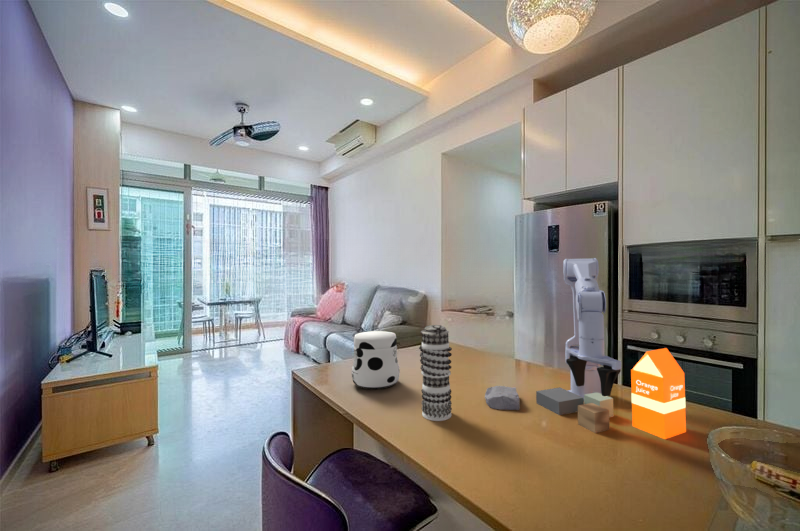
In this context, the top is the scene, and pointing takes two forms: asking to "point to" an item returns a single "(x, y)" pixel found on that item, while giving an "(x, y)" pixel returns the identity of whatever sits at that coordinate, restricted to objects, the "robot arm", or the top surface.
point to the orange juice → (658, 395)
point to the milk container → (375, 360)
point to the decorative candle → (435, 373)
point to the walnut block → (593, 417)
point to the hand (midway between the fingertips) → (592, 390)
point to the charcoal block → (559, 400)
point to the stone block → (502, 398)
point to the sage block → (600, 401)
